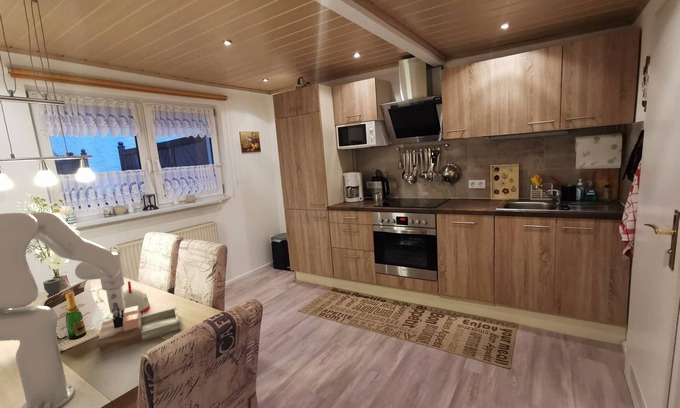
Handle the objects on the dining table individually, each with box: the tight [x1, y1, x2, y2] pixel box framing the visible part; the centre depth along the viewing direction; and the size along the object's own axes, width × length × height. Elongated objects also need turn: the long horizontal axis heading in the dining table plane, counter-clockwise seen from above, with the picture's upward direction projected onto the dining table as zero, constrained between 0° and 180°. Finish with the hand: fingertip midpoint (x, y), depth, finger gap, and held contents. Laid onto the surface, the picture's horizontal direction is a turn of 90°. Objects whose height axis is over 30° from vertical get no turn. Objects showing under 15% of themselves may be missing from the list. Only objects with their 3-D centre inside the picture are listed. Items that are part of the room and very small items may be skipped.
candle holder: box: [42, 277, 63, 340], centre depth 139 cm, size 6×6×25 cm
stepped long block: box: [97, 307, 181, 355], centre depth 139 cm, size 16×28×6 cm, turn 121°
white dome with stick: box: [123, 280, 151, 315], centre depth 159 cm, size 14×14×15 cm
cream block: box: [123, 306, 139, 319], centre depth 140 cm, size 5×5×4 cm
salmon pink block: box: [123, 314, 139, 331], centre depth 133 cm, size 5×5×4 cm
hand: (120, 322), depth 135 cm, fingers open, 9 cm apart
